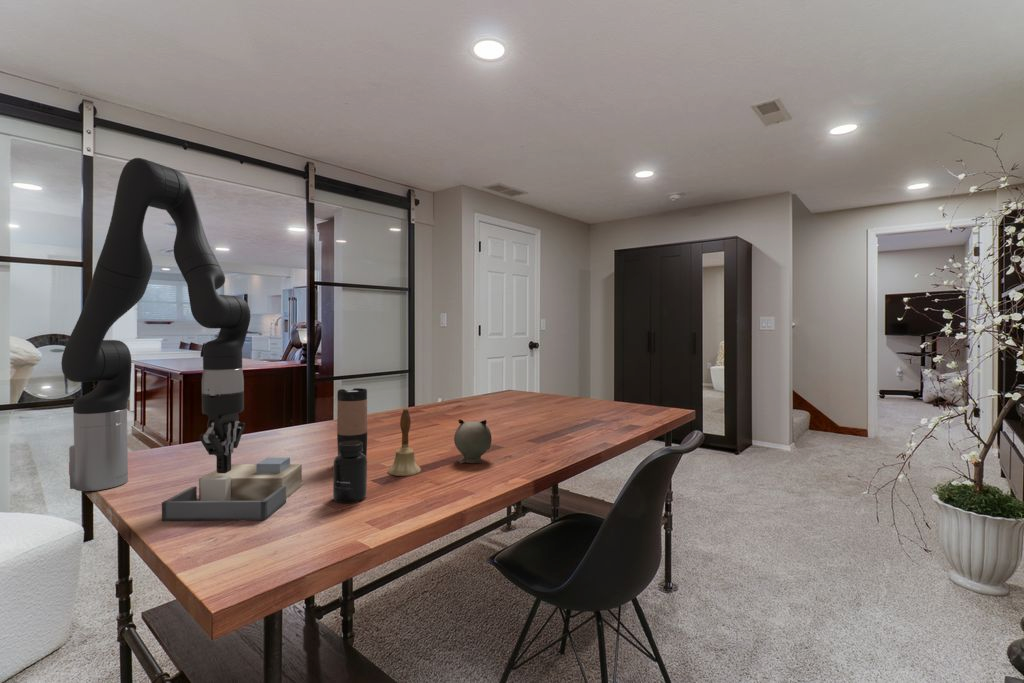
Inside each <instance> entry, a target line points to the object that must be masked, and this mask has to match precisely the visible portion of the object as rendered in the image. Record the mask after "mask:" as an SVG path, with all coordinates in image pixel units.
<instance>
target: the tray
mask: <svg viewBox="0 0 1024 683" xmlns="http://www.w3.org/2000/svg"><path fill="white" fill-rule="evenodd" d="M197 494H198V492H197V486H191V487H189V488H187V489H185V490H183V491H182V492H179V493H177V494H175V495H174V496H171V497H170V498H168V499H166V500H164V501H163V502H161V521H162V522H207V521H208V522H213V521H214V522H219V521H218V520H247V521H266V520H268V519H269V518H270V517H271V516H272V515H273V514H275V513H276V512H277V511H278V510H279V509H281V507H283V506H284V505H285V504H286V503H287V498H286V486H282V487H280V488H279V489H278V490H276V491H275V492H273V493H272V494H271V495H269V496H268V497H267V498H265V499H264V500H254V501H199V500H198V499H197V498H198V497H197V496H198V495H197ZM215 520H217V521H215Z"/></svg>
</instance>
